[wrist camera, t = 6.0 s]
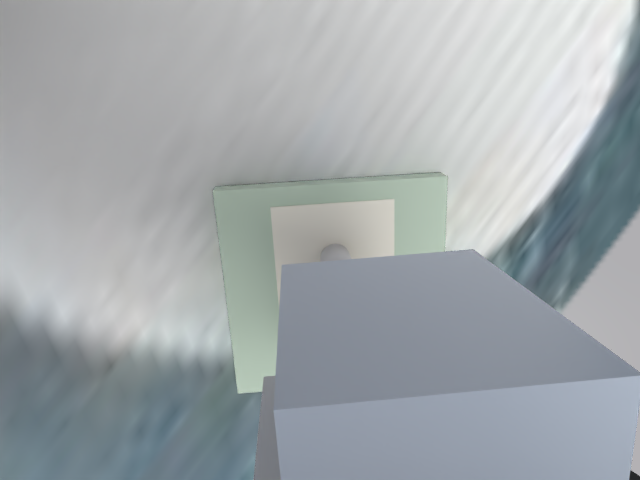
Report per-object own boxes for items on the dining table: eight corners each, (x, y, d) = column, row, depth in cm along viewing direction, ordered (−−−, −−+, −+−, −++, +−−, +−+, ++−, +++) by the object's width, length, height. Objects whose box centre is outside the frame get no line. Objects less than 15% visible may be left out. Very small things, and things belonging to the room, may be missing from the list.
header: (216, 186, 24) (198, 211, 19) (440, 172, 25) (479, 192, 20) (239, 381, 28) (230, 443, 23) (434, 364, 28) (465, 421, 24)
